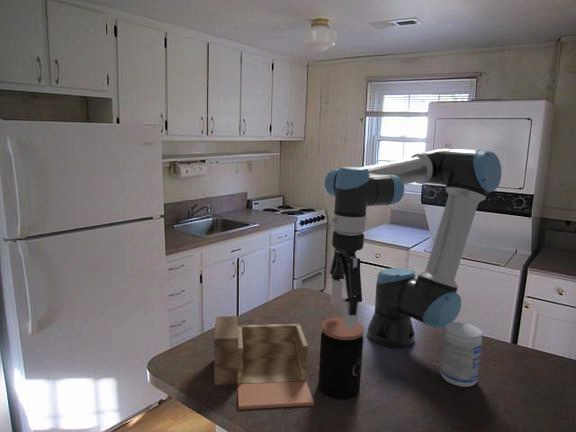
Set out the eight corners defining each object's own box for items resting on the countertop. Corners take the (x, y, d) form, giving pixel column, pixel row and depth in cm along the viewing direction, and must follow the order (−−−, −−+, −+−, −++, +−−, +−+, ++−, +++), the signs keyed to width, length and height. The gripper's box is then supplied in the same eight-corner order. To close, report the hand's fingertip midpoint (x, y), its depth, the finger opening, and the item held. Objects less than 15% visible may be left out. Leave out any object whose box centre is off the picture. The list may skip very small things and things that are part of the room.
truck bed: (298, 358, 126) (300, 314, 123) (305, 384, 113) (308, 335, 110) (215, 362, 122) (215, 316, 119) (213, 389, 110) (213, 338, 107)
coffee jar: (358, 406, 104) (363, 339, 101) (315, 400, 106) (318, 333, 103) (360, 382, 115) (364, 320, 111) (320, 376, 117) (324, 315, 113)
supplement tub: (478, 391, 113) (485, 340, 110) (440, 384, 115) (446, 334, 112) (474, 372, 122) (480, 324, 119) (439, 366, 124) (444, 319, 122)
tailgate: (306, 381, 112) (313, 402, 103) (306, 384, 112) (313, 405, 103) (237, 384, 110) (238, 406, 100) (237, 388, 110) (238, 410, 100)
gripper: (322, 221, 114) (317, 295, 118) (347, 245, 90) (340, 338, 94) (349, 221, 115) (344, 295, 119) (381, 245, 91) (373, 337, 95)
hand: (342, 314), depth 106 cm, fingers open, 13 cm apart
